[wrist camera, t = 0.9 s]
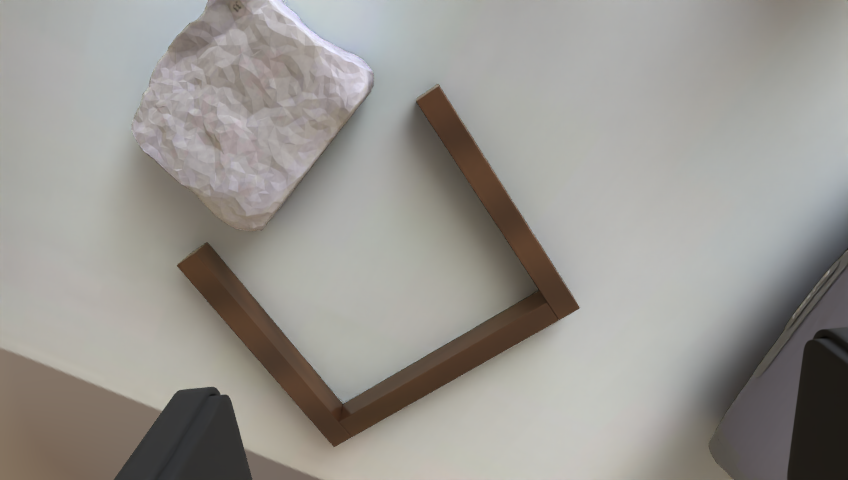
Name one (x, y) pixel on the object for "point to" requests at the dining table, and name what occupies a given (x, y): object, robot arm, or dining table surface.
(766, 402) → the bluetooth speaker
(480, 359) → the frame
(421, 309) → the dining table surface
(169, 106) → the stone block
